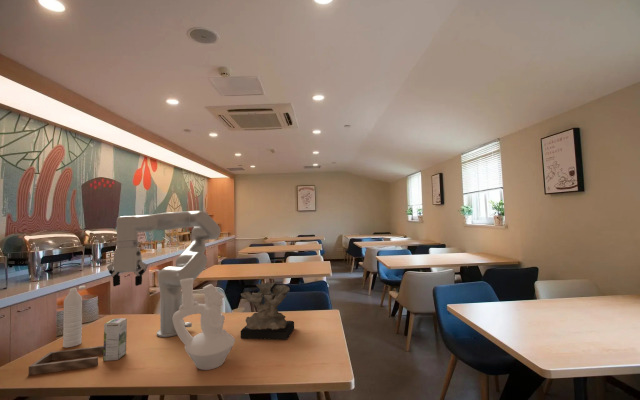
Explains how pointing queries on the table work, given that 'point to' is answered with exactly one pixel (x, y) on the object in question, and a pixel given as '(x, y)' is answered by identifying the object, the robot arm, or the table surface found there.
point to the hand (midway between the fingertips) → (127, 285)
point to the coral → (267, 314)
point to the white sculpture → (203, 327)
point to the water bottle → (72, 318)
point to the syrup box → (115, 339)
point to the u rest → (47, 367)
